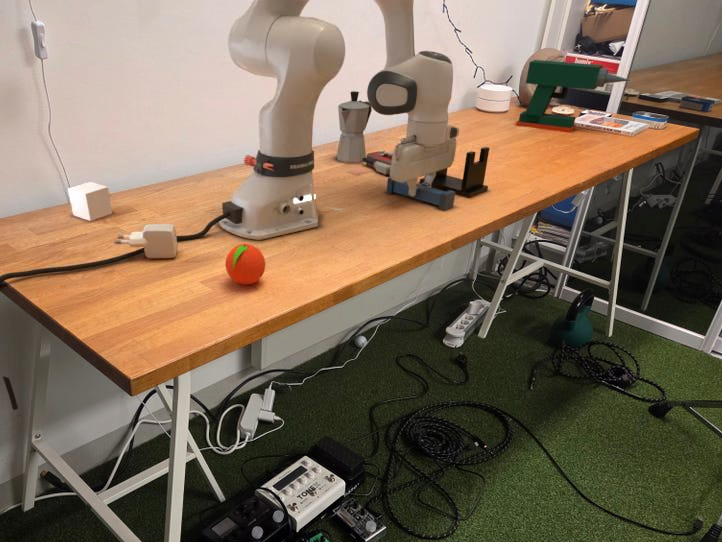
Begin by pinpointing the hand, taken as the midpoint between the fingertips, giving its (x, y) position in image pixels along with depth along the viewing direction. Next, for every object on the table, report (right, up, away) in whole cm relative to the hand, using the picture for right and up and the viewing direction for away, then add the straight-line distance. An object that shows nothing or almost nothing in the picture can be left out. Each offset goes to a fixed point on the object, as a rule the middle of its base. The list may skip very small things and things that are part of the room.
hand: (419, 192), depth 145 cm
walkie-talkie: (-4, +11, +20) cm, 23 cm away
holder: (+10, +4, +9) cm, 14 cm away
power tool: (+62, +39, +63) cm, 97 cm away
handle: (0, -1, +1) cm, 2 cm away
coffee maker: (-13, +18, +31) cm, 38 cm away
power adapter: (-57, -20, -28) cm, 67 cm away
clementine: (-38, -26, -37) cm, 59 cm away
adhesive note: (-74, -7, -9) cm, 75 cm away
